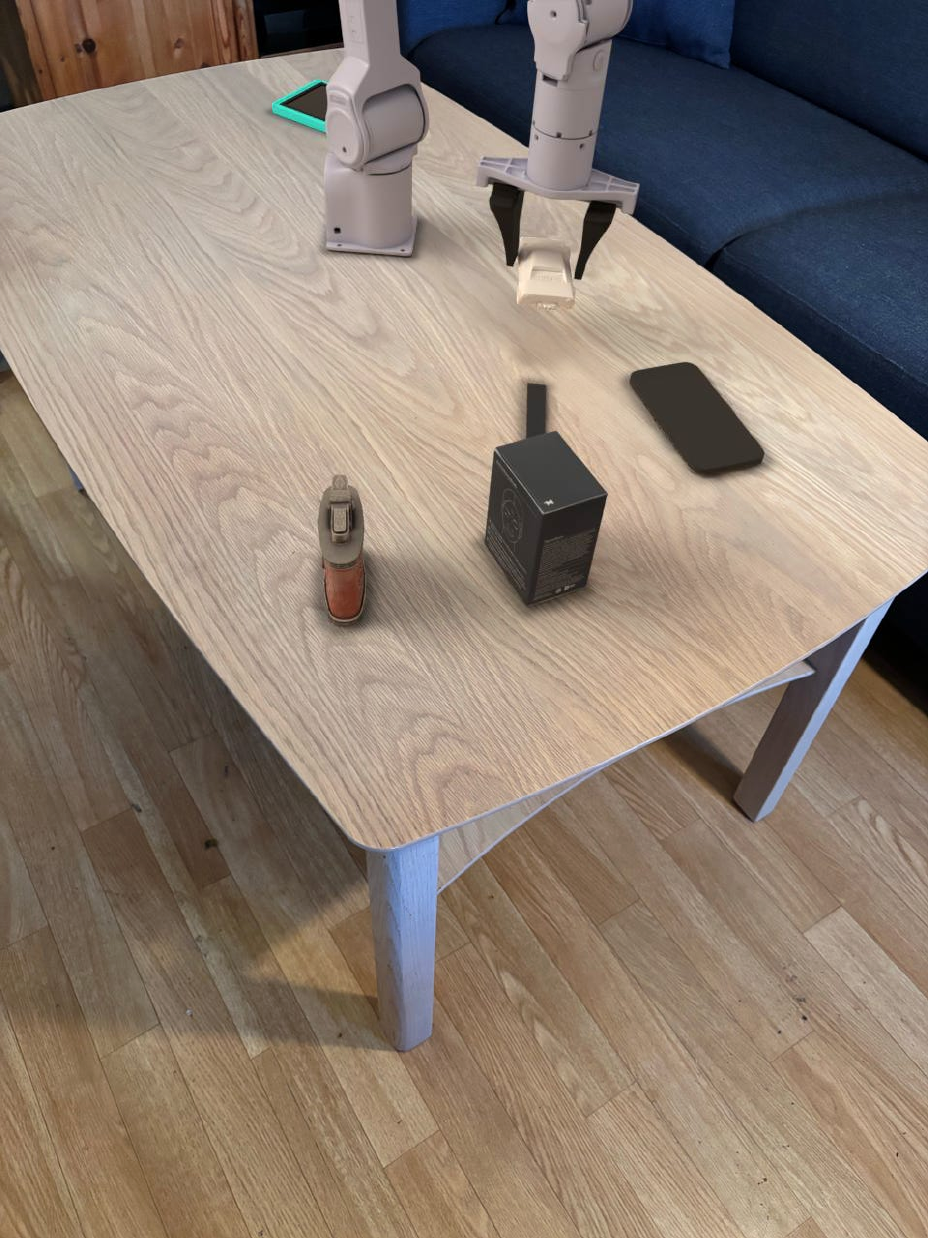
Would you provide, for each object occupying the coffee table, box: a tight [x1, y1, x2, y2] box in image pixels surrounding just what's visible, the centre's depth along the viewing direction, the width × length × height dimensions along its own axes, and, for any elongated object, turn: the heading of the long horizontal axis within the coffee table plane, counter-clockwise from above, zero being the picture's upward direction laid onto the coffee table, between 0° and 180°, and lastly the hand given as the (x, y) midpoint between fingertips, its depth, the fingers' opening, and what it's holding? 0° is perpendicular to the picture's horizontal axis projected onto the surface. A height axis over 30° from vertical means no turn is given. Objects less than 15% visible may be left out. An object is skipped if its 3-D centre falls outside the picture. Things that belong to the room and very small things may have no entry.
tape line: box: [525, 382, 547, 439], centre depth 89 cm, size 2×15×1 cm, turn 177°
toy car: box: [515, 236, 577, 312], centre depth 93 cm, size 6×12×3 cm, turn 179°
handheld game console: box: [271, 78, 329, 134], centre depth 126 cm, size 10×16×1 cm, turn 57°
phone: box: [629, 361, 766, 476], centre depth 91 cm, size 7×1×15 cm
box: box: [484, 430, 609, 607], centre depth 75 cm, size 8×6×11 cm
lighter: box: [317, 473, 368, 629], centre depth 73 cm, size 8×3×10 cm, turn 5°
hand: (545, 267), depth 93 cm, fingers closed on toy car, 6 cm apart
